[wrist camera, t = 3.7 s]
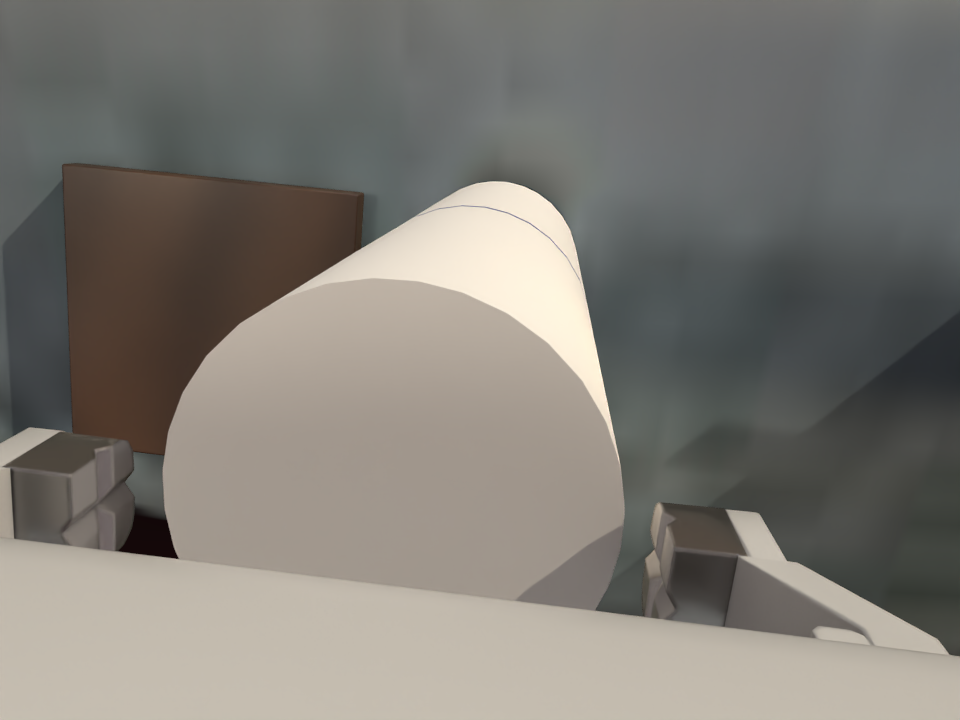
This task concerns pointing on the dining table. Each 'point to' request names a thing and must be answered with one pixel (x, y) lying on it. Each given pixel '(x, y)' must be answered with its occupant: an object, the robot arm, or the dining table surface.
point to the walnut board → (178, 280)
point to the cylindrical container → (413, 418)
